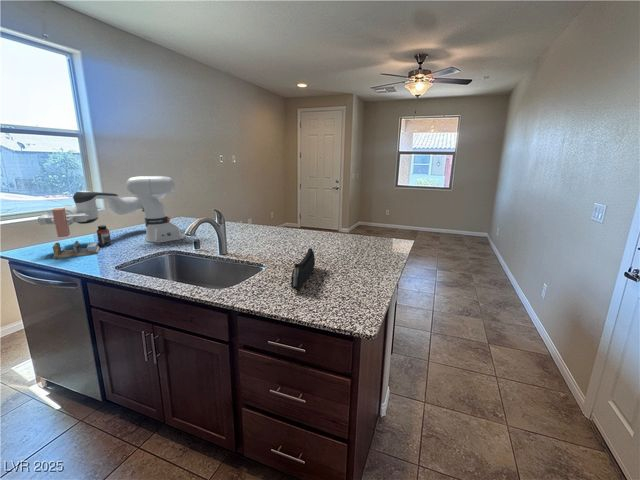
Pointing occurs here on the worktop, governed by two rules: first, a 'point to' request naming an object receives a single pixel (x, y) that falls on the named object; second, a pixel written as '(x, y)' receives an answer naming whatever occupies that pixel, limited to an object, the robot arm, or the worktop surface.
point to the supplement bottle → (103, 235)
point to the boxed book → (61, 222)
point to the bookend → (77, 248)
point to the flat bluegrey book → (92, 247)
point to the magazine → (302, 270)
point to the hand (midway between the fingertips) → (60, 221)
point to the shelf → (68, 252)
